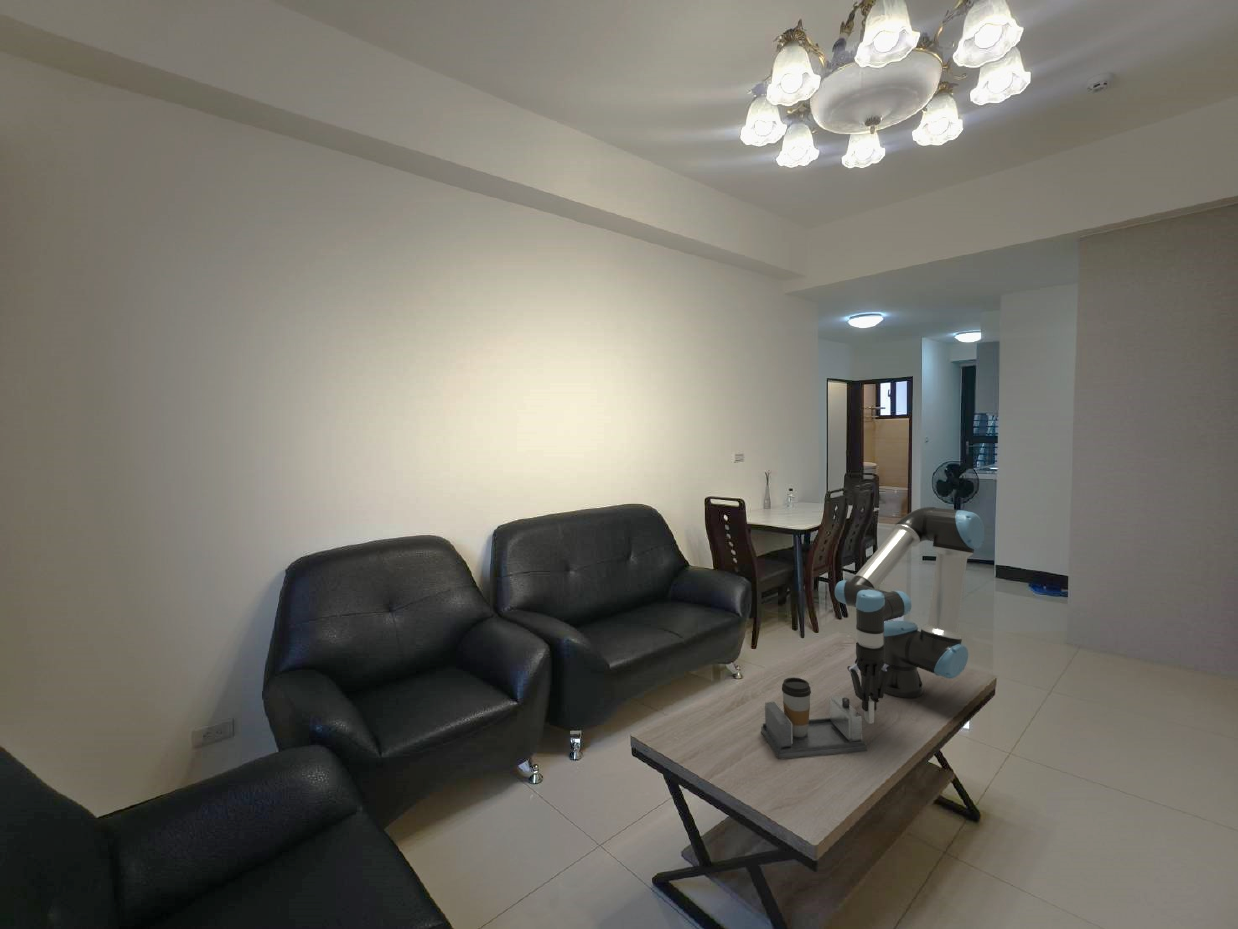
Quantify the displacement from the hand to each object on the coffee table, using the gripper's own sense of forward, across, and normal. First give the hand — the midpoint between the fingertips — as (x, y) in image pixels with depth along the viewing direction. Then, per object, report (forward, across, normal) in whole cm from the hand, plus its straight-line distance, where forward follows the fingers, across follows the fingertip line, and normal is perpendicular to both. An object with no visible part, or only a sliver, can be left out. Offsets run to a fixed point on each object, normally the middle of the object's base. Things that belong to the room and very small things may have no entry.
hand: (869, 720), depth 160 cm
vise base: (+5, +18, 0) cm, 18 cm away
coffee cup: (+4, +21, -3) cm, 22 cm away
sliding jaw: (+3, +7, 0) cm, 8 cm away
